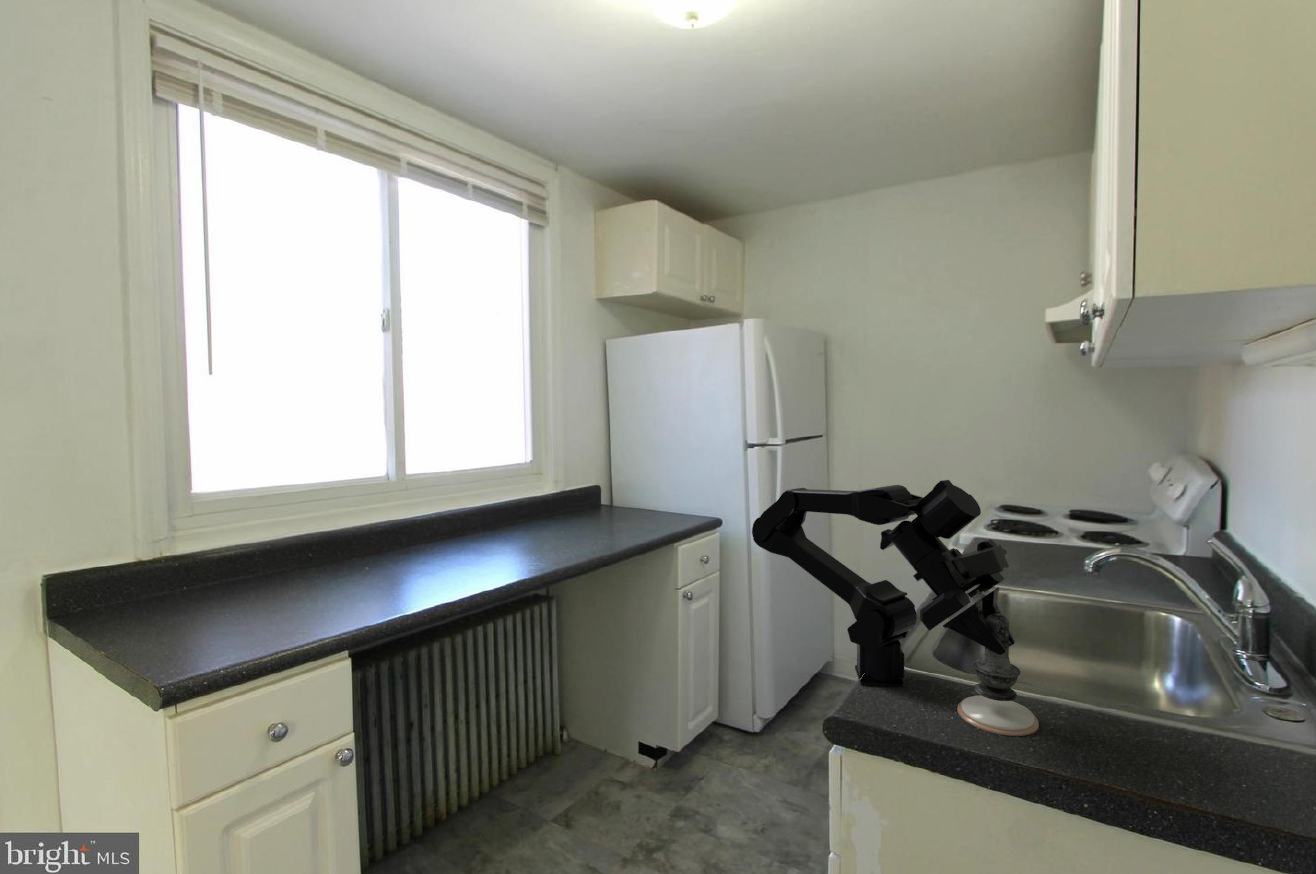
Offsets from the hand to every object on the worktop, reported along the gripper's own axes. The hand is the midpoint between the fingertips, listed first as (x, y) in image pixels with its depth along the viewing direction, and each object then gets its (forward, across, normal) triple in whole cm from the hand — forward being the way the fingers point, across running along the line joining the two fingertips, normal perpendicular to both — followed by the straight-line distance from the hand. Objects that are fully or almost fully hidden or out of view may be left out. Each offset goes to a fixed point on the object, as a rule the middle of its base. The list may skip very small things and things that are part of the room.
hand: (1007, 649), depth 87 cm
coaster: (+6, 0, +8) cm, 10 cm away
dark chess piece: (+4, 0, +6) cm, 7 cm away
